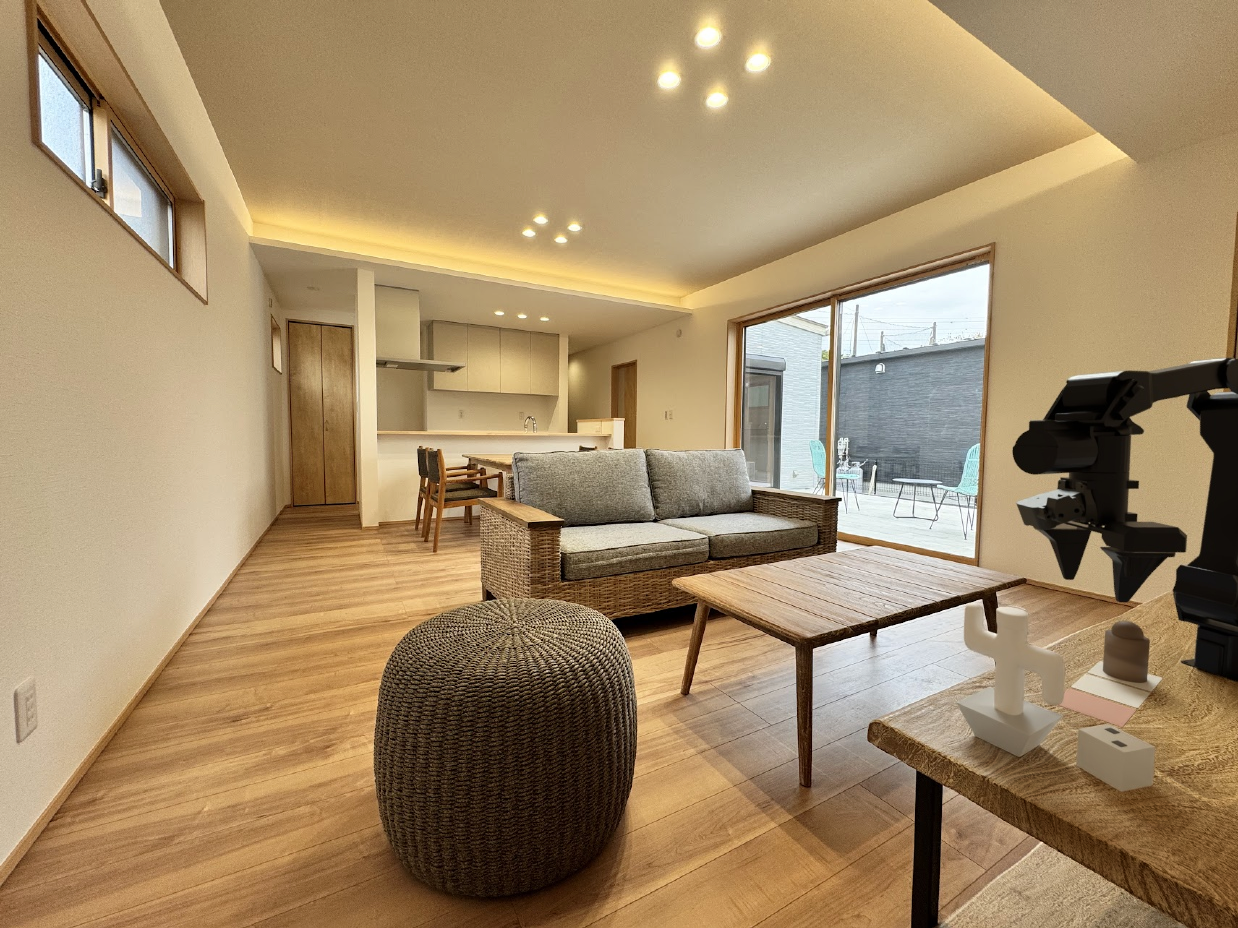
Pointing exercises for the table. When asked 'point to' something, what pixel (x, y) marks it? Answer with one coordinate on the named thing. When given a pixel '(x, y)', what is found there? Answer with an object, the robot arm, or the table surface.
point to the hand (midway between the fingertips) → (1093, 589)
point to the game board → (1107, 696)
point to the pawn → (1126, 652)
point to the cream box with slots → (1115, 757)
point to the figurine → (1011, 682)
